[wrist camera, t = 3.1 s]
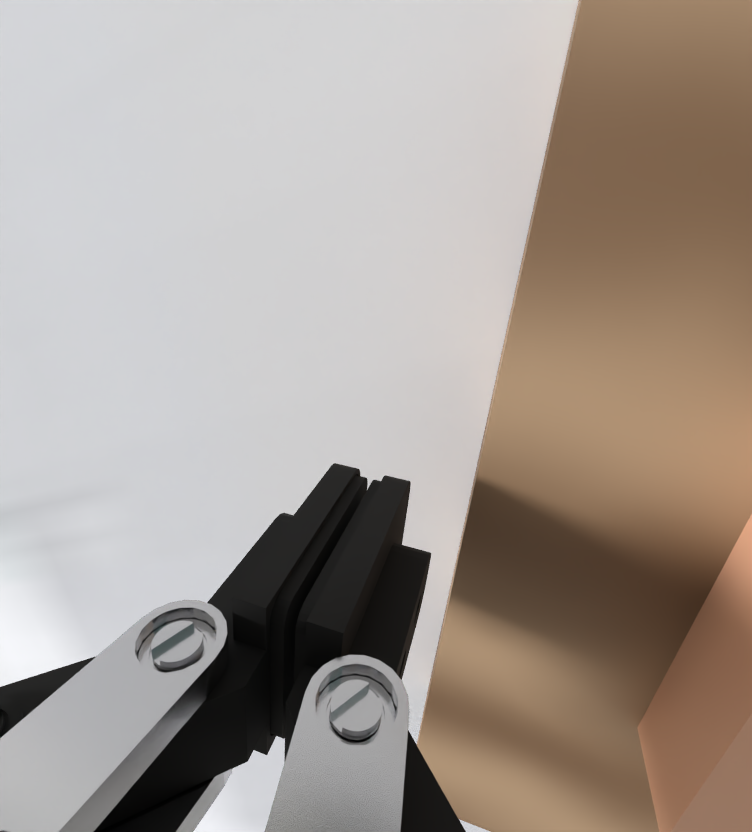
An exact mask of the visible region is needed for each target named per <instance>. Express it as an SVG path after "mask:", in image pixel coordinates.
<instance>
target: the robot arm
mask: <svg viewBox="0 0 752 832" xmlns="http://www.w3.org/2000/svg"><path fill="white" fill-rule="evenodd" d="M409 493H410V481H406V480H402V479H398V478H394V477H390V476H384V477H383V479H382V481H377V480H373V481H372V483H371V485H370V486H369V488H368V490H367V478H365V477H361V476H360V470H359V469H356V468H352V467H348V466H344V465H340V464H336V463H335V464H333V465H332V466H331V467H330V468H329V470H328V471H327V472H326V474H325V475H324V476H323V478H322V479H321V480H320V482H319V483H318V484H317V486H316V487H315V488H314V489H313V491H312V492H311V493H310V495H309V496H308V497H307V499H306V500H305V501H304V503H303V504H302V505H301V507H300V508H299V509H298V510H297V512H296V513H295V514H294V516H293V515H290V514H286V513H282V514H280V515H279V516H278V517H277V518H276V519H275V520H274V521H273V523H272V524H271V525H270V526H269V527H268V529H267V530H266V531H265V532H264V534H263V535H262V536H261V537H260V539H259V540H258V541H257V542H256V543H255V545H254V546H253V547H252V548H251V550H250V551H249V552H248V553H247V555H246V556H245V557H244V558H243V559H242V561H241V562H240V563H239V564H238V566H237V567H236V568H235V569H234V571H233V572H232V573H231V574H230V575H229V577H228V578H227V579H226V580H225V582H224V583H223V584H222V585H221V587H220V588H219V589H218V590H217V591H216V593H215V594H214V595H213V596H212V598H211V599H210V600H209V601H208V603H205V602H202V601H197V600H182V601H177V602H172V603H168V604H166V605H164V606H161V607H159V608H156V609H154V610H153V611H151V612H150V613H148V614H147V615H146V616H144V617H143V618H141V619H140V620H139V621H138V622H137V623H135V624H134V625H133V626H132V627H131V628H129V629H128V630H127V631H126V632H125V633H124V634H122V635H121V636H120V637H119V638H118V639H117V640H115V641H114V642H113V643H112V644H111V645H109V646H108V647H107V648H106V649H105V650H104V651H102V652H101V653H100V654H99V655H98V656H96V657H93V658H90V659H87V660H83V661H80V662H77V663H74V664H71V665H68V666H65V667H62V668H58V669H55V670H52V671H49V672H46V673H43V674H40V675H37V676H33V677H30V678H27V679H24V680H21V681H18V682H15V683H11V684H8V685H5V686H2V687H0V832H193V831H194V830H195V828H196V827H197V825H198V824H199V822H200V821H201V819H202V818H203V816H204V815H205V814H206V812H207V811H208V809H209V808H210V806H211V805H212V803H213V802H214V800H215V799H216V797H217V796H218V795H219V793H220V792H221V790H222V789H223V787H224V786H225V784H226V782H227V780H228V778H229V776H230V774H231V772H232V768H234V767H236V766H238V765H241V764H243V763H245V762H247V761H248V760H249V758H250V756H251V754H252V752H253V750H255V751H258V752H260V753H263V754H265V755H267V754H268V752H269V750H270V748H271V745H272V743H273V741H274V739H275V737H276V736H278V737H281V738H285V763H284V767H283V770H282V774H281V777H280V781H279V784H278V788H277V791H276V795H275V798H274V801H273V805H272V808H271V812H270V815H269V819H268V822H267V826H266V829H265V832H466V831H465V830H464V828H463V826H462V824H461V823H460V821H459V819H458V817H457V816H456V814H455V812H454V810H453V809H452V807H451V805H450V803H449V801H448V800H447V798H446V796H445V794H444V793H443V791H442V789H441V787H440V786H439V784H438V782H437V780H436V778H435V777H434V775H433V773H432V771H431V770H430V768H429V766H428V764H427V763H426V761H425V759H424V757H423V756H422V754H421V752H420V750H419V748H418V747H417V745H416V743H415V741H414V740H413V738H412V736H411V734H410V733H409V731H408V724H409V701H408V694H407V692H406V689H405V687H404V684H403V682H402V676H403V673H404V669H405V665H406V661H407V658H408V654H409V650H410V646H411V643H412V639H413V635H414V631H415V628H416V624H417V620H418V616H419V612H420V608H421V603H422V599H423V594H424V590H425V585H426V580H427V574H428V569H429V564H430V558H431V553H429V552H426V551H422V550H418V549H415V548H411V547H407V546H404V545H402V539H403V533H404V526H405V519H406V513H407V506H408V500H409Z"/></svg>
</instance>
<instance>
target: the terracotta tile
mask: <svg viewBox="0 0 752 832" xmlns="http://www.w3.org/2000/svg"><path fill="white" fill-rule="evenodd" d="M637 729H638V734H639V738H640V743H641V748H642V752H643V757H644V762H645V767H646V771H647V776H648V781H649V785H650V790H651V795H652V800H653V804H654V809H655V814H656V818H657V823H658V828H659V832H752V514H751V516H750V518H749V520H748V522H747V523H746V525H745V527H744V529H743V531H742V533H741V535H740V536H739V538H738V540H737V542H736V544H735V546H734V548H733V550H732V551H731V553H730V555H729V557H728V559H727V561H726V563H725V565H724V566H723V568H722V570H721V572H720V574H719V576H718V578H717V580H716V581H715V583H714V585H713V587H712V589H711V591H710V593H709V594H708V596H707V598H706V600H705V602H704V604H703V606H702V608H701V609H700V611H699V613H698V615H697V617H696V619H695V621H694V623H693V624H692V626H691V628H690V630H689V632H688V634H687V636H686V637H685V639H684V641H683V643H682V645H681V647H680V649H679V651H678V652H677V654H676V656H675V658H674V660H673V662H672V664H671V666H670V667H669V669H668V671H667V673H666V675H665V677H664V679H663V681H662V682H661V684H660V686H659V688H658V690H657V692H656V694H655V695H654V697H653V699H652V701H651V703H650V705H649V707H648V709H647V710H646V712H645V714H644V716H643V718H642V720H641V722H640V724H639V725H638V727H637Z"/></svg>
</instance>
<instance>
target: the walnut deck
mask: <svg viewBox="0 0 752 832" xmlns="http://www.w3.org/2000/svg"><path fill="white" fill-rule="evenodd" d="M751 514H752V0H579V2H578V6H577V11H576V16H575V20H574V25H573V29H572V34H571V38H570V43H569V48H568V52H567V57H566V61H565V66H564V70H563V75H562V80H561V84H560V89H559V93H558V98H557V102H556V107H555V112H554V116H553V121H552V125H551V130H550V135H549V139H548V144H547V148H546V153H545V157H544V162H543V167H542V171H541V176H540V180H539V185H538V189H537V194H536V199H535V203H534V208H533V212H532V217H531V221H530V226H529V231H528V235H527V240H526V244H525V249H524V253H523V258H522V263H521V267H520V272H519V276H518V281H517V285H516V290H515V295H514V299H513V304H512V308H511V313H510V317H509V322H508V327H507V331H506V336H505V340H504V345H503V350H502V354H501V359H500V363H499V368H498V372H497V377H496V382H495V386H494V391H493V395H492V400H491V404H490V409H489V414H488V418H487V423H486V427H485V432H484V436H483V441H482V446H481V450H480V455H479V459H478V464H477V468H476V473H475V478H474V482H473V487H472V491H471V496H470V500H469V505H468V510H467V514H466V519H465V523H464V528H463V532H462V537H461V542H460V546H459V551H458V555H457V560H456V565H455V569H454V574H453V578H452V583H451V587H450V592H449V597H448V601H447V606H446V610H445V615H444V619H443V624H442V629H441V633H440V638H439V642H438V647H437V651H436V656H435V661H434V665H433V670H432V674H431V679H430V683H429V688H428V693H427V698H426V702H425V707H424V712H423V717H422V722H421V727H420V731H419V736H418V741H417V747H418V748H419V750H420V752H421V754H422V756H423V757H424V759H425V761H426V763H427V764H428V766H429V768H430V770H431V771H432V773H433V775H434V777H435V778H436V780H437V782H438V784H439V786H440V787H441V789H442V791H443V793H444V794H445V796H446V798H447V800H448V801H449V803H450V805H451V807H452V809H453V810H454V812H455V814H456V816H457V817H458V819H460V820H463V821H465V822H468V823H470V824H473V825H476V826H478V827H481V828H483V829H486V830H488V831H491V832H659V828H658V823H657V818H656V814H655V809H654V804H653V800H652V795H651V790H650V785H649V781H648V776H647V771H646V767H645V762H644V757H643V752H642V748H641V743H640V738H639V734H638V729H637V727H638V725H639V724H640V722H641V720H642V718H643V716H644V714H645V712H646V710H647V709H648V707H649V705H650V703H651V701H652V699H653V697H654V695H655V694H656V692H657V690H658V688H659V686H660V684H661V682H662V681H663V679H664V677H665V675H666V673H667V671H668V669H669V667H670V666H671V664H672V662H673V660H674V658H675V656H676V654H677V652H678V651H679V649H680V647H681V645H682V643H683V641H684V639H685V637H686V636H687V634H688V632H689V630H690V628H691V626H692V624H693V623H694V621H695V619H696V617H697V615H698V613H699V611H700V609H701V608H702V606H703V604H704V602H705V600H706V598H707V596H708V594H709V593H710V591H711V589H712V587H713V585H714V583H715V581H716V580H717V578H718V576H719V574H720V572H721V570H722V568H723V566H724V565H725V563H726V561H727V559H728V557H729V555H730V553H731V551H732V550H733V548H734V546H735V544H736V542H737V540H738V538H739V536H740V535H741V533H742V531H743V529H744V527H745V525H746V523H747V522H748V520H749V518H750V516H751Z"/></svg>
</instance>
